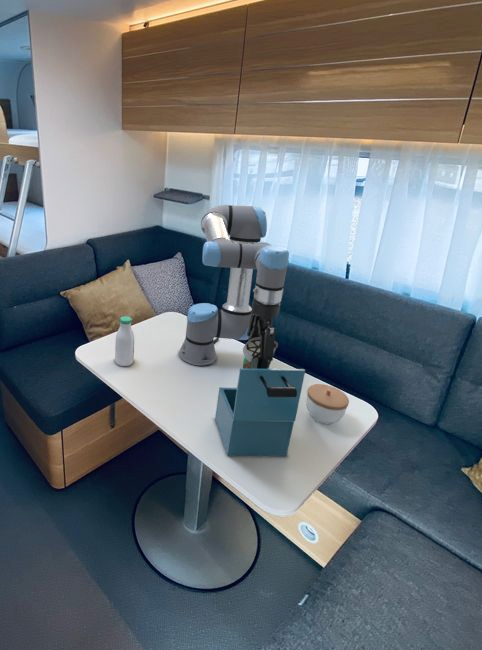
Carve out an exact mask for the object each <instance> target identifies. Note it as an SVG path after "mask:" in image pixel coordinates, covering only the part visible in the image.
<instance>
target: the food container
mask: <svg viewBox="0 0 482 650" xmlns="http://www.w3.org/2000/svg"><path fill="white" fill-rule="evenodd" d="M278 347H279V343H278V342H277V341H276V340H275V342H274V352H273V356H274V355H275V353H276V350H277V348H278ZM242 354H243V363H242V368H250V369H257V363H258V357H260V336H259V337H256V338H252V339H250V340H249V339H248V341H246V342H245V344H244V345H243V348H242ZM271 364H272V361H268V365H267V369H270V366H271Z"/></svg>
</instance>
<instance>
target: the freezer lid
mask: <svg viewBox="0 0 482 650" xmlns="http://www.w3.org/2000/svg"><path fill="white" fill-rule="evenodd" d="M305 374H306V369H304V368H269V369H250V368H243V367H240V368H239V373H238V379H237V385H236V386H237V387H236V388H237V393H236V400H235V407H234V414H233V420H234V421H294V422H296V418H297V414H298V408H299V403H300V398H301V394H302V388H303V384H304V379H305Z"/></svg>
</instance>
